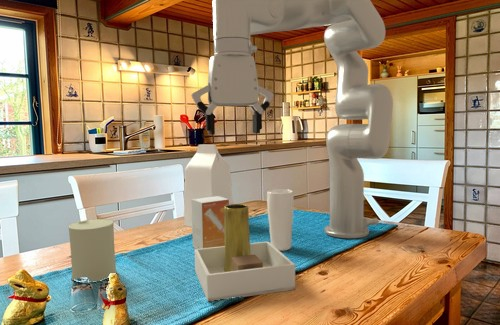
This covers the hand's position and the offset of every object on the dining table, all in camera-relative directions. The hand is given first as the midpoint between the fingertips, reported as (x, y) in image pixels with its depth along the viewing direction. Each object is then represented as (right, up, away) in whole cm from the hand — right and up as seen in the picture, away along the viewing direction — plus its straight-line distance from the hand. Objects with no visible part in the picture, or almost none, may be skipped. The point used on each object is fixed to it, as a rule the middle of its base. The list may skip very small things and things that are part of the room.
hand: (234, 133), depth 83 cm
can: (-31, -31, +4) cm, 44 cm away
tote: (+2, -31, 0) cm, 31 cm away
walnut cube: (+3, -30, -4) cm, 31 cm away
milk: (-10, -26, +47) cm, 55 cm away
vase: (+1, -30, +3) cm, 30 cm away
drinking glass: (+11, -29, +20) cm, 37 cm away
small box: (-7, -29, +22) cm, 37 cm away
